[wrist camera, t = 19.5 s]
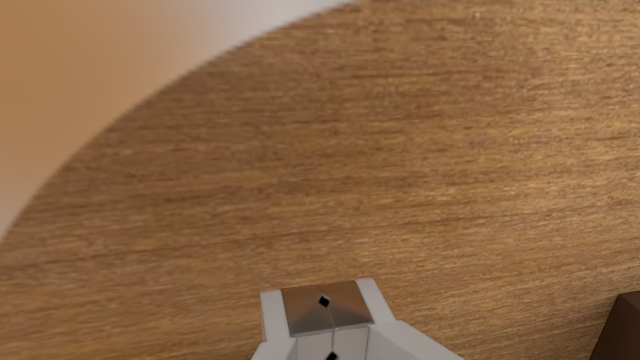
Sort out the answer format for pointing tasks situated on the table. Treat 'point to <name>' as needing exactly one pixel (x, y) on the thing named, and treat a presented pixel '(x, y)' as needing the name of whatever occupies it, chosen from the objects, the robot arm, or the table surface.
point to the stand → (621, 331)
